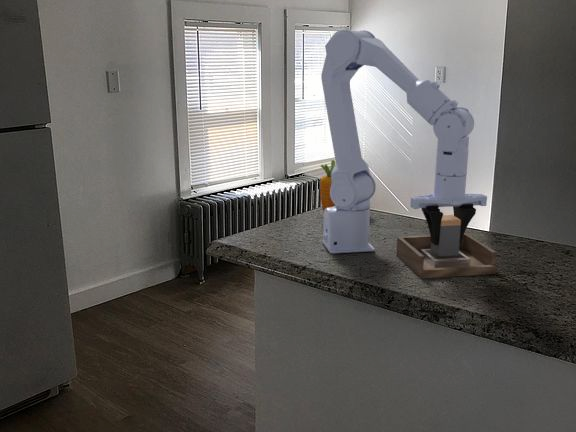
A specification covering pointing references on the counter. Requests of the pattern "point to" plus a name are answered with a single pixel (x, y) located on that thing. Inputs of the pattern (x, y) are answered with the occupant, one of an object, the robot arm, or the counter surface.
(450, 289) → the counter surface
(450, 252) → the two-tone rectangular block
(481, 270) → the walnut box
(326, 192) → the carrot
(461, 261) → the frame
